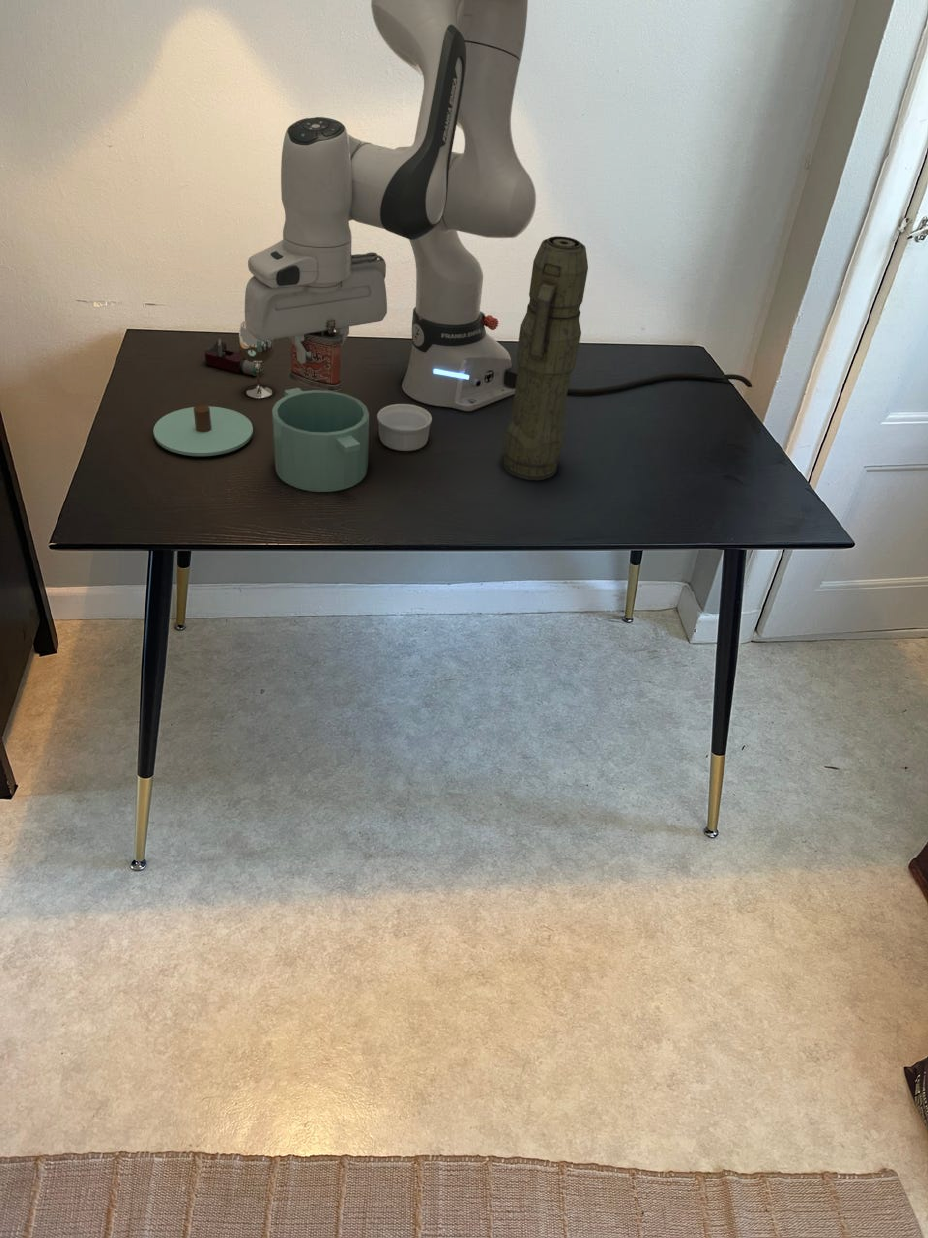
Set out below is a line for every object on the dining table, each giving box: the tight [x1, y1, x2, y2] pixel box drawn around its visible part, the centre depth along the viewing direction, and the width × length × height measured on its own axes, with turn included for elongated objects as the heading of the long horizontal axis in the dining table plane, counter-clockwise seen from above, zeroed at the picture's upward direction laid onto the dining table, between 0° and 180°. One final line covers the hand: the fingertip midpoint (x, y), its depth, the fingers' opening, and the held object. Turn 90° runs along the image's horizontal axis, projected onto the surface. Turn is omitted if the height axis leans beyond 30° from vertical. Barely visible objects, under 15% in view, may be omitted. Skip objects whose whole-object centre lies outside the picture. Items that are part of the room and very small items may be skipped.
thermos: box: [502, 235, 589, 481], centre depth 134 cm, size 9×12×35 cm
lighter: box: [288, 320, 344, 392], centre depth 126 cm, size 8×3×10 cm, turn 67°
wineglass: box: [238, 320, 275, 399], centre depth 152 cm, size 6×6×12 cm
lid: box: [152, 404, 254, 457], centre depth 142 cm, size 15×15×5 cm
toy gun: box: [204, 338, 263, 377], centre depth 163 cm, size 10×12×5 cm
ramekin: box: [376, 403, 433, 452], centre depth 146 cm, size 9×9×4 cm
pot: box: [271, 387, 370, 493], centre depth 136 cm, size 14×19×10 cm
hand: (319, 358), depth 128 cm, fingers closed on lighter, 3 cm apart
